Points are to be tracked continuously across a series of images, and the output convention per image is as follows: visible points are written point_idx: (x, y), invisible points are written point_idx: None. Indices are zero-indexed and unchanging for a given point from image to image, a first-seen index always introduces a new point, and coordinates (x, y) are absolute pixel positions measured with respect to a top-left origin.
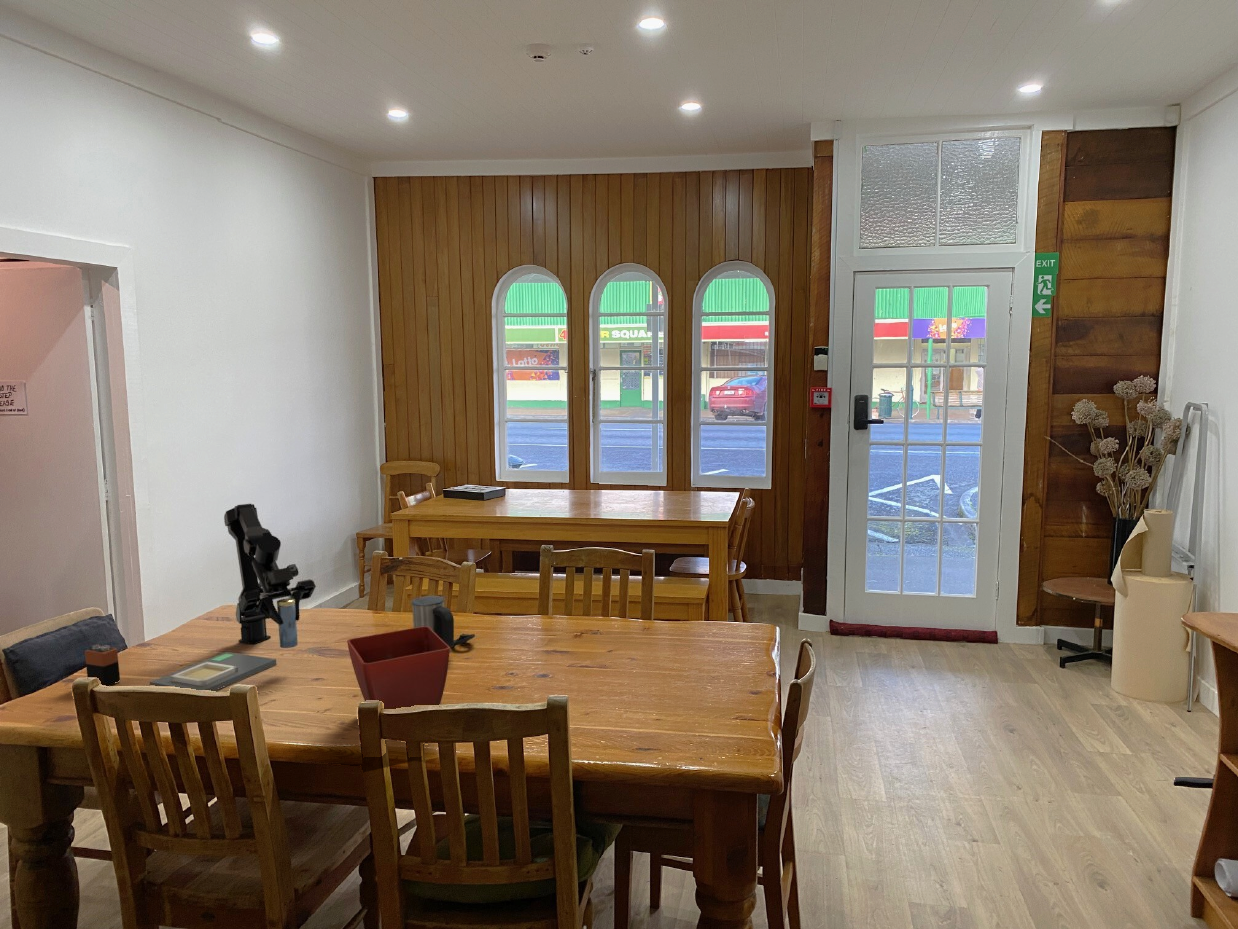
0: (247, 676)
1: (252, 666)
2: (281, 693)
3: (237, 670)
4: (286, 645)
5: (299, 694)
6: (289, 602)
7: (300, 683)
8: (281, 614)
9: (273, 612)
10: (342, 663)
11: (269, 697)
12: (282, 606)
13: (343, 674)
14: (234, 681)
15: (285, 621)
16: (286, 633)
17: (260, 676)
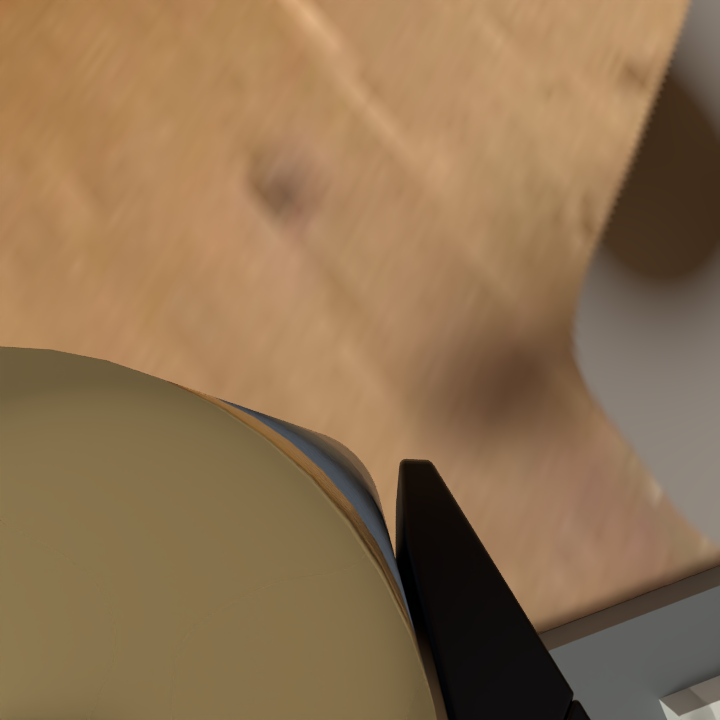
0: (595, 615)
1: None
2: (555, 139)
3: (668, 700)
4: (350, 451)
5: (486, 44)
6: (21, 353)
7: (394, 206)
8: (377, 516)
9: (560, 683)
10: (8, 337)
11: (634, 134)
12: (342, 500)
13: (130, 141)
14: (710, 575)
15: (328, 444)
16: (337, 444)
17: (518, 555)
